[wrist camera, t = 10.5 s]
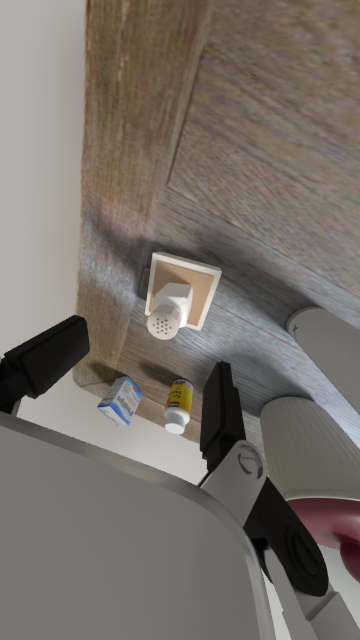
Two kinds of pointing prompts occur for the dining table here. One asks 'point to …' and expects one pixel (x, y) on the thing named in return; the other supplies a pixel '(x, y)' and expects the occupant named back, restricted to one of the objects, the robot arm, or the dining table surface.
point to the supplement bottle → (178, 406)
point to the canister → (315, 473)
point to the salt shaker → (170, 310)
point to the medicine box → (121, 401)
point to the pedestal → (184, 272)
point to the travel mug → (330, 348)
